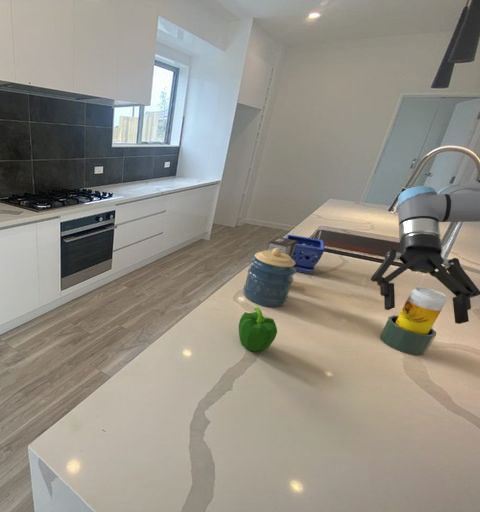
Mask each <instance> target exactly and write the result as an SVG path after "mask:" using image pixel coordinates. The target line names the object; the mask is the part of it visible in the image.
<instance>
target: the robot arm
mask: <svg viewBox="0 0 480 512" xmlns="http://www.w3.org/2000/svg"><path fill="white" fill-rule="evenodd" d="M396 210H397V217H398V236H399V237H398V238H399V252H398V251H397V250H396V249H390V250H389V251H388V252H386V253H385V254H384V260H383V261H382V262H381V264H380V265H379V266H378V268H377V269H376V270H375V272H374V273H373V274H372V276H370V281H372V282H376V284H377V286H379V292H380V293H379V294H380V295H381V297H383V301H384V304H383V305H384V310H385V311H390V310H393V309H395V308H396V301H395V300H396V298H395V297H396V296H395V283H394V282H392V281H393V280H395V279H396V278H397V277H398V276H400V275H401V274H403V273H404V272H406V271H407V270H410V271H411V272H419V273H422V274H429V275H430V276H431V277H434V278H435V279H437V280H438V281H439V282H440V283H441V284H442V285H443V286H444V287H445V288H447V290H449V292H451V293H452V294H453V295H454V297H452V307H453V317H454V323H455V324H458V325H460V324H464V323H468V322H470V320H469V312H468V311H470V310H471V309H472V303H471V299H472V298H474V297H477V296H480V289H479V288H478V286H477V285H476V284H475V283H474V281H473V280H472V279H471V278H470V276H469V275H468V274H467V273H466V271H465V269H463V268H462V266H461V262H460V259H459V258H457V257H453V258H451V259H450V258H443V257H442V249H443V247H442V240H441V229H440V228H441V227H440V223H461V222H463V223H465V222H467V223H468V222H469V223H470V222H471V223H474V222H475V223H476V222H479V223H480V178H479V179H476V180H473V181H469V182H466V183H463V184H451V185H447V186H444V187H443V188H441V189H440V190H438V191H437V190H436V189H435V187H431V186H426V185H418V186H417V185H416V186H412V187H409V188H406V189H405V190H403V191H402V192H401V193H400V194H399V195H398V197H397V209H396ZM397 259H399V260H400V262H401V263H402V265H400V266H398V267H397V268H396V269H395V270H393V271H392V272H390V273H389V274H388V275H386V276H385V277H384V275H385V273H386V272H387V271H388V269H389V268H390V267H391V265H392V264H393V262H394V261H395V260H397ZM436 270H437V271H436Z"/></svg>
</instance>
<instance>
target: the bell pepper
mask: <svg viewBox="0 0 480 512" xmlns="http://www.w3.org/2000/svg"><path fill="white" fill-rule="evenodd" d="M253 310H254V311H253V312H244V313H243V314H242V315H241V317H240V318H239V323H238V337H239V341H240V343H241V346H242V347H243V348H245V349H246V350H249V351H251V352H259V351H266V350H268V349H269V347H270V346H271V345H272V343H274V341H275V339H276V337H277V334H278V327H277V325H276V323H275V320H274V319H273V318H270V317H265V316H263V313H262V310H261V309H260V308H259V307H257V306H254V307H253Z"/></svg>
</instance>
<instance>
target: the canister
mask: <svg viewBox="0 0 480 512" xmlns="http://www.w3.org/2000/svg"><path fill="white" fill-rule="evenodd" d="M249 262H250V267H249V268H248V269H247V275H246V279H245V283H244V285H243V289H242V290H243V295H244V297H245V298H246V299H248V300H249V301H250V302H253V303H254V304H258V305H259V306H260V305H261V306H264V307H269V308H279V307H282V306H284V305H285V304H286V302H287V301H288V299H289V293H290V290H291V287H292V284H293V282H294V275H295V274H297V271H296V268H295V267H294V265H295V264H296V263H295V261H294V260H293V259H292V258H291V257H290V256H289V255H287V254H284V253H282V252H281V249H279V248H274V249H273V250H272V251H271V250H267V249H264V250H261V251H257V252H256V253H255V254H254V257H253V258H252V259H250V261H249Z"/></svg>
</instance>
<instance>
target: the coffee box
mask: <svg viewBox="0 0 480 512" xmlns="http://www.w3.org/2000/svg"><path fill="white" fill-rule="evenodd" d="M296 244H297V241H295V240H291V239H287V238H286V237H283V236H277V237H275V238H272V239H271V240H269V241H268V244H267V248H266V250H271V251H272V250H273V249H274V248H279V249H281V252H282V253H284V254H287V255H289V256H290V257H291V258H292V256H293V253H294V250H295V247H296Z"/></svg>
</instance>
